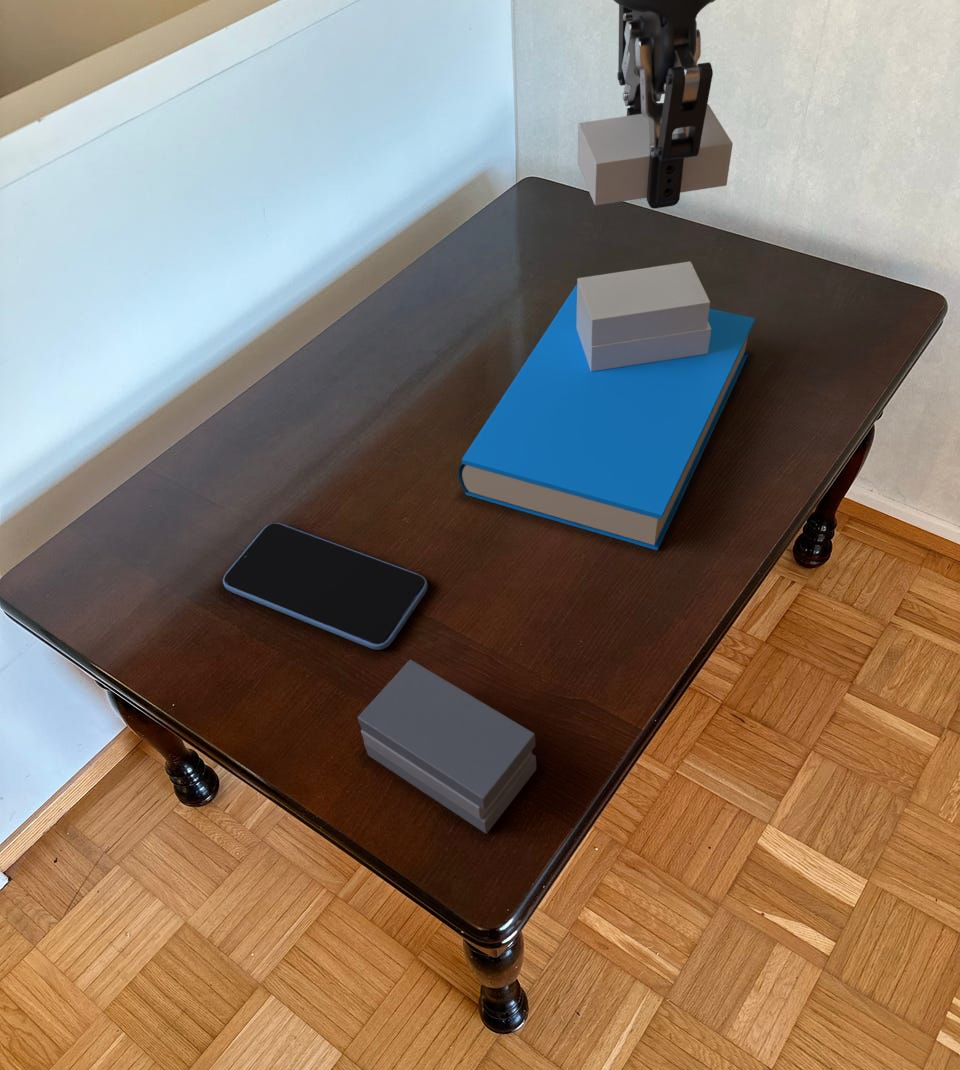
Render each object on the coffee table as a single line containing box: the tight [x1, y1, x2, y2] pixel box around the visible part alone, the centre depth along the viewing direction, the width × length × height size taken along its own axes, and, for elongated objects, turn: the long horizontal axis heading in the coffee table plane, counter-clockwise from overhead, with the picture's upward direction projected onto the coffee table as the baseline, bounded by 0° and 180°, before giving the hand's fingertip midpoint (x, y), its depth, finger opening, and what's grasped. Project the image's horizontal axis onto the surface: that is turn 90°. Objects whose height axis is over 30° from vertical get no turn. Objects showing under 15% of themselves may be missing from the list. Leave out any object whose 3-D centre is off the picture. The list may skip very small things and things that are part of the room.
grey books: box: [357, 659, 537, 834], centre depth 60 cm, size 10×6×5 cm, turn 53°
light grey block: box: [577, 103, 733, 206], centre depth 66 cm, size 10×6×3 cm, turn 99°
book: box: [457, 284, 756, 551], centre depth 79 cm, size 17×4×25 cm
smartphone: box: [222, 522, 428, 651], centre depth 72 cm, size 7×1×15 cm
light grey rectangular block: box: [576, 261, 711, 371], centre depth 78 cm, size 10×6×5 cm, turn 98°
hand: (650, 180), depth 68 cm, fingers closed on light grey block, 5 cm apart
